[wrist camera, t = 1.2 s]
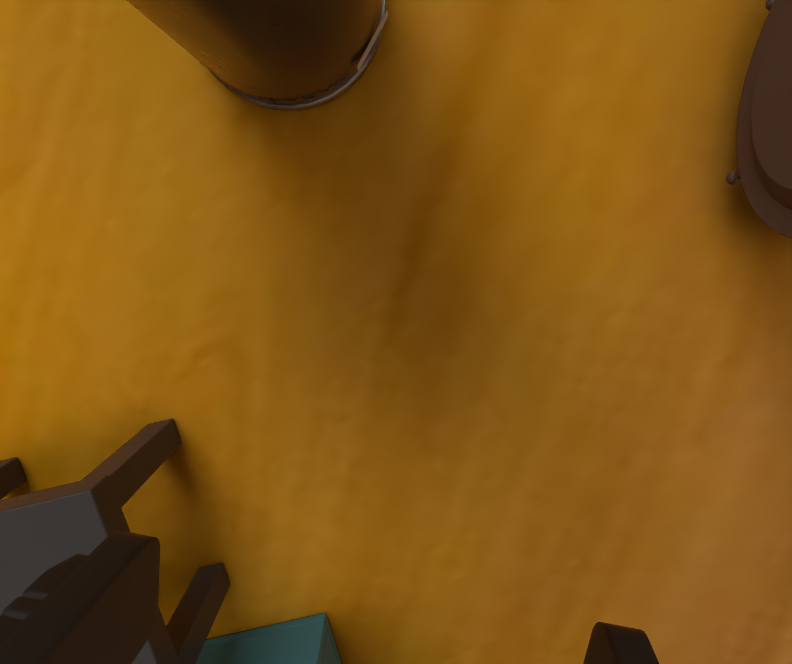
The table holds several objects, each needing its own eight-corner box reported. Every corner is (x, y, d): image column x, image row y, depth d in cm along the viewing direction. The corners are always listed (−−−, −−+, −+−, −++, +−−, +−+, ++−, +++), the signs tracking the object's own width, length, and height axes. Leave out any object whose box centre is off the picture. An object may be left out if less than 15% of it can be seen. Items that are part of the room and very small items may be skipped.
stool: (-15, 459, 31) (-174, 554, 22) (176, 412, 31) (89, 490, 22) (57, 628, 33) (-63, 776, 24) (236, 586, 33) (179, 721, 24)
